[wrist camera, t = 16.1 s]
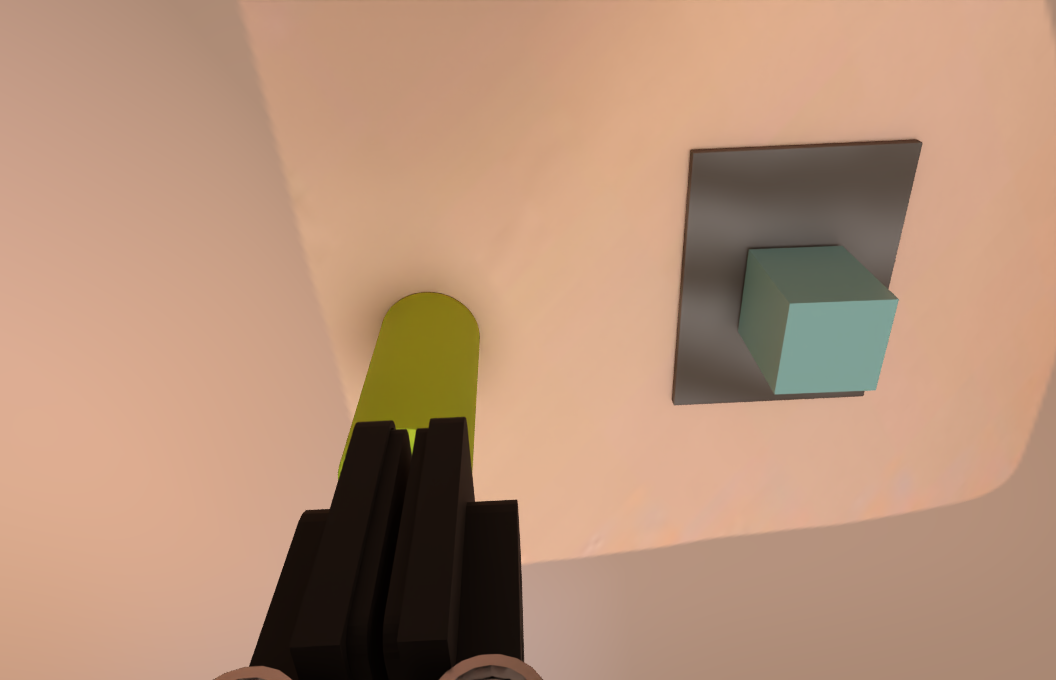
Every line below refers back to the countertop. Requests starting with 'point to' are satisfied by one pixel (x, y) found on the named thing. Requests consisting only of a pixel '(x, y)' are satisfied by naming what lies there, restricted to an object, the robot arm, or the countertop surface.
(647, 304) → the countertop surface
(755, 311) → the teal cuboid
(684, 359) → the grey base plate
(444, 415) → the soap dispenser
